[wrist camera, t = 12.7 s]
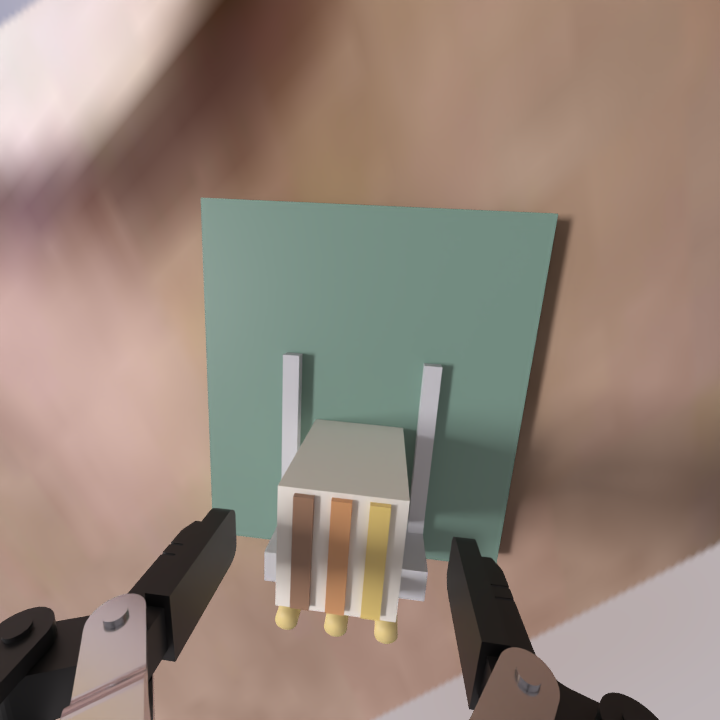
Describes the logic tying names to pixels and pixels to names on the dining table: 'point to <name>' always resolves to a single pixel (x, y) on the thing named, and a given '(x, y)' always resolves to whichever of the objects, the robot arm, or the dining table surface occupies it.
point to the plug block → (343, 521)
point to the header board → (372, 357)
